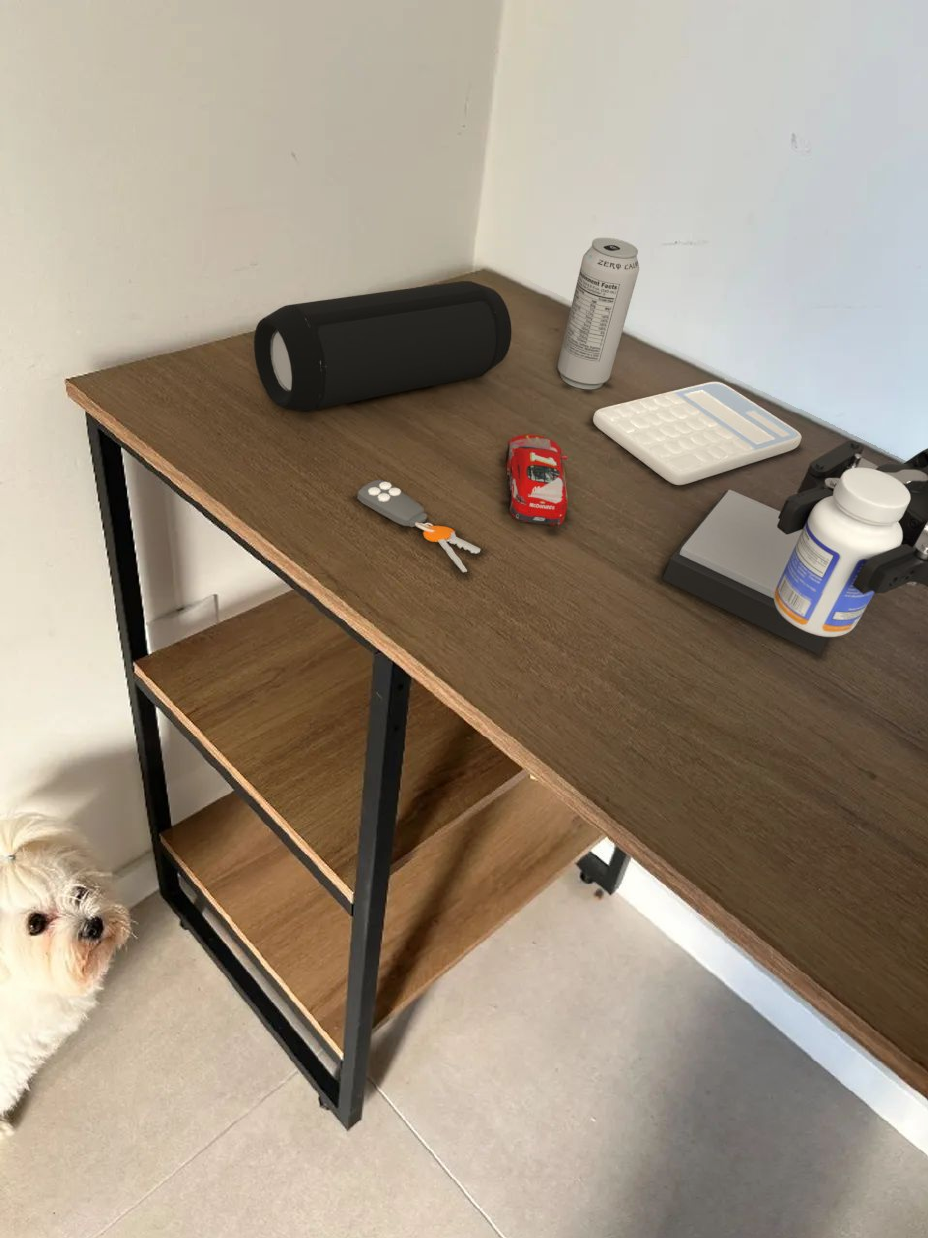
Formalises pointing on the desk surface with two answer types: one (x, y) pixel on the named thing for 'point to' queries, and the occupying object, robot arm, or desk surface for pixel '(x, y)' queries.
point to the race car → (536, 480)
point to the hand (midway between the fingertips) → (824, 547)
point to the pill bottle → (840, 552)
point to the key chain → (410, 516)
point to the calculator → (696, 431)
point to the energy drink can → (598, 312)
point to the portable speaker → (380, 343)
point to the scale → (740, 564)
